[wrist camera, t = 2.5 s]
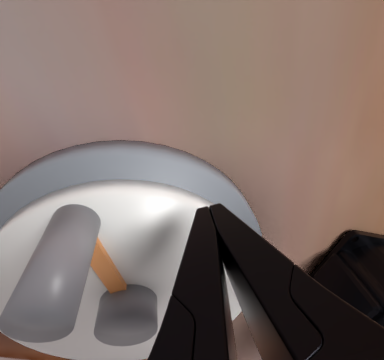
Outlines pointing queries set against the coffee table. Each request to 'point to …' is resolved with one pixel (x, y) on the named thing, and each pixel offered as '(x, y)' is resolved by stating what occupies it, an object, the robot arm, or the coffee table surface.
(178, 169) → the base plate
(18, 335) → the dial
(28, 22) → the coffee table surface
